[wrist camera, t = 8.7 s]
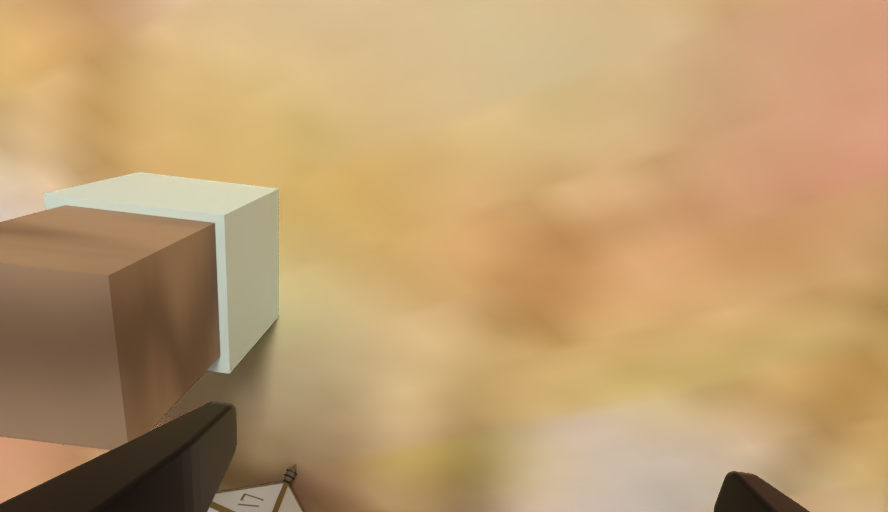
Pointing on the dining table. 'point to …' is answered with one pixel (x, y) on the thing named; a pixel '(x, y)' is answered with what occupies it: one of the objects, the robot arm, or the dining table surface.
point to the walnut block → (102, 322)
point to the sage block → (237, 242)
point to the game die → (259, 497)
